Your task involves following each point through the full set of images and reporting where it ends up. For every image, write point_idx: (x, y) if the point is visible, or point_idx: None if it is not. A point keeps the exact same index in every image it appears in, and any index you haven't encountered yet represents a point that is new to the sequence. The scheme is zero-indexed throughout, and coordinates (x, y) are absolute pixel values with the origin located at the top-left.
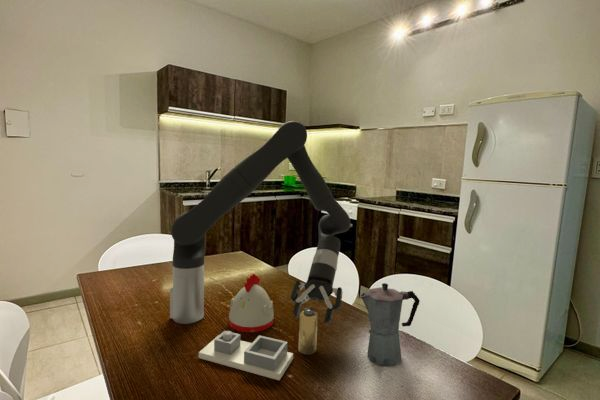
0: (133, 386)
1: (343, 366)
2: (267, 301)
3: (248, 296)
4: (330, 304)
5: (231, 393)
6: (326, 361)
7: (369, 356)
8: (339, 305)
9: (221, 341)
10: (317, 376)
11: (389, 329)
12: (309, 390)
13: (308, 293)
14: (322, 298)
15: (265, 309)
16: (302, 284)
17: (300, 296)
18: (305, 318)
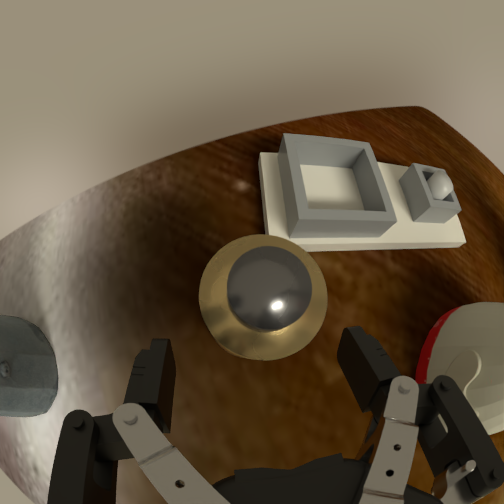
0: (424, 115)
1: (108, 281)
2: (487, 388)
3: None
4: (129, 432)
5: (319, 117)
6: (160, 285)
7: (46, 345)
8: (63, 423)
9: (431, 167)
10: (171, 208)
11: None
12: (179, 161)
13: (371, 460)
14: (220, 482)
15: (469, 359)
16: (456, 499)
17: (410, 415)
18: (263, 236)
